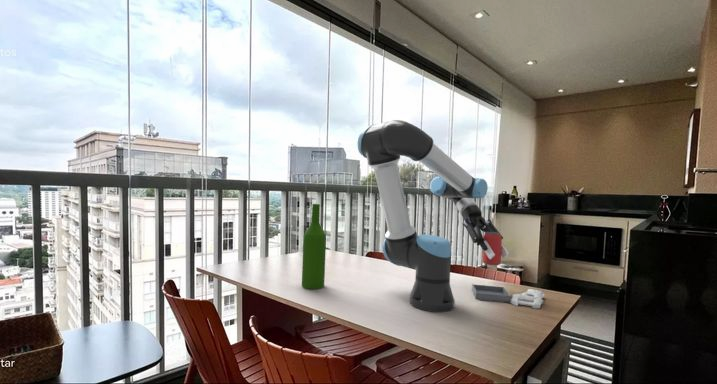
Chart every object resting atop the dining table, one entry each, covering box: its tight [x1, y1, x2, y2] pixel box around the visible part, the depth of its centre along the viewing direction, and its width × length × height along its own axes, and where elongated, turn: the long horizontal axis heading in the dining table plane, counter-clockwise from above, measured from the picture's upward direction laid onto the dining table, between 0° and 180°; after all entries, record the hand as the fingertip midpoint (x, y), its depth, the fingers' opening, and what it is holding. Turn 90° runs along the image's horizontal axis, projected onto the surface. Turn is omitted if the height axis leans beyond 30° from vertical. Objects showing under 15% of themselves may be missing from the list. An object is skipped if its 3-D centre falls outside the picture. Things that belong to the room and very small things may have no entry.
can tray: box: [471, 283, 512, 304], centre depth 130 cm, size 12×12×2 cm
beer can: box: [481, 231, 503, 266], centre depth 130 cm, size 7×7×12 cm
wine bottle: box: [301, 203, 327, 290], centre depth 135 cm, size 9×9×32 cm
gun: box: [510, 288, 546, 309], centre depth 126 cm, size 18×4×10 cm
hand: (499, 256), depth 127 cm, fingers closed on beer can, 6 cm apart
